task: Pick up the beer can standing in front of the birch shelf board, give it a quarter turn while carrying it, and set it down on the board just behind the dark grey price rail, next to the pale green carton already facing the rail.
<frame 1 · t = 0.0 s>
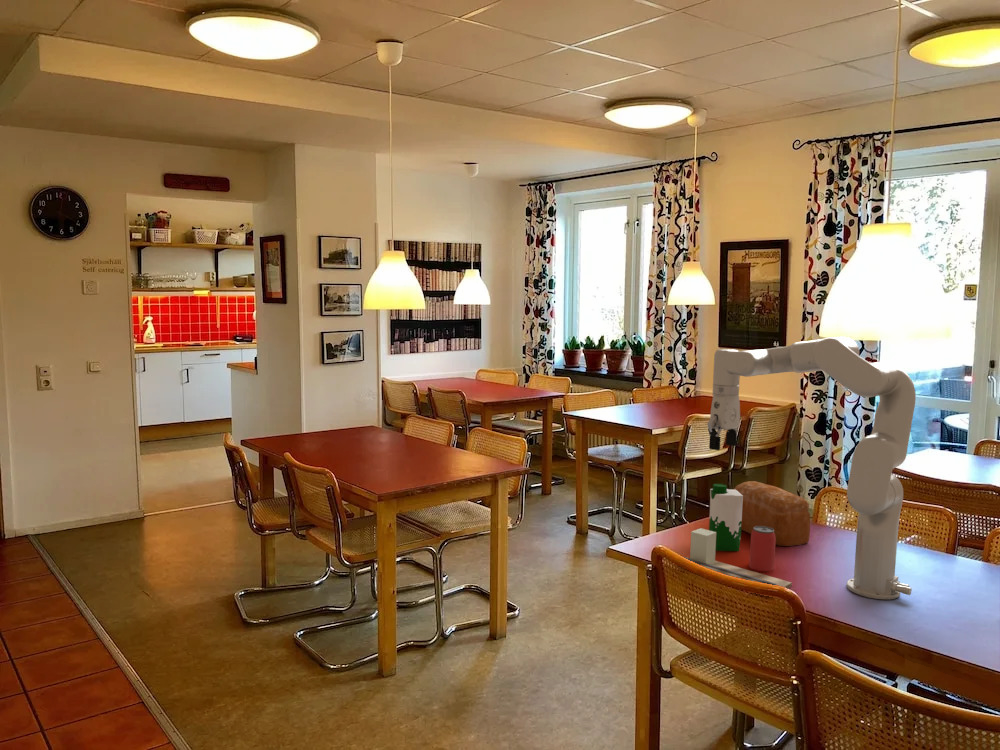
hand: (722, 447, 229), 31 cm above the table, fingers open, 9 cm apart
carton: (702, 562, 216), point 1 cm above the table, touching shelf
milk carton: (723, 550, 230), on the table
bread: (767, 534, 248), on the table
beer can: (761, 571, 213), on the table
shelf: (734, 575, 209), on the table
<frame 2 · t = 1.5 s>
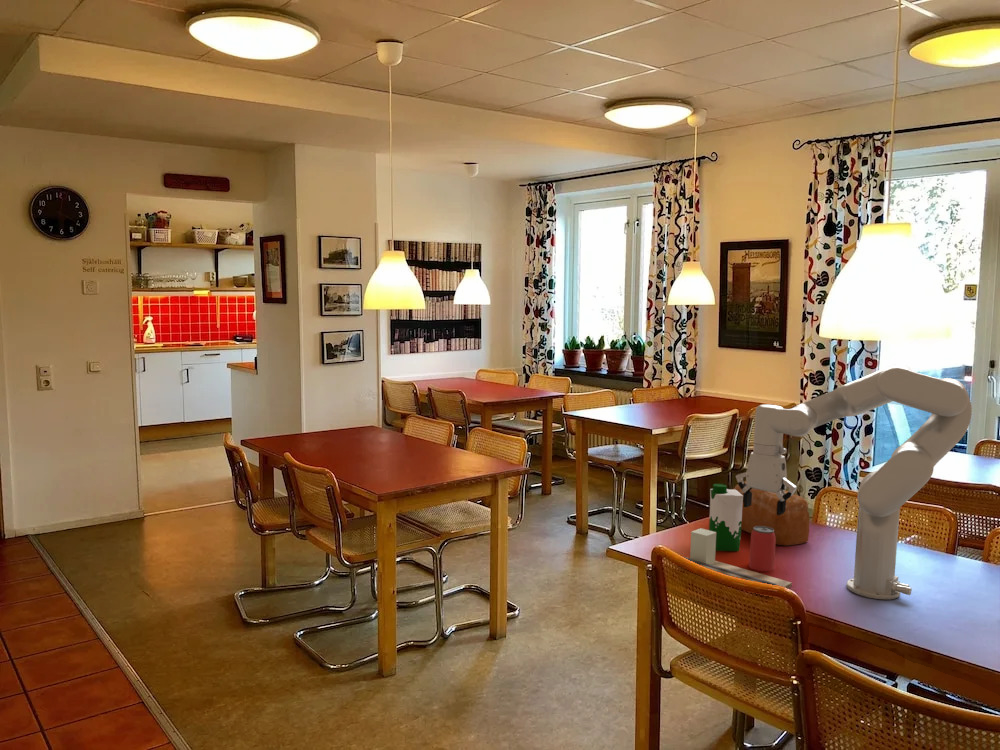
hand: (763, 510, 212), 17 cm above the table, fingers open, 9 cm apart
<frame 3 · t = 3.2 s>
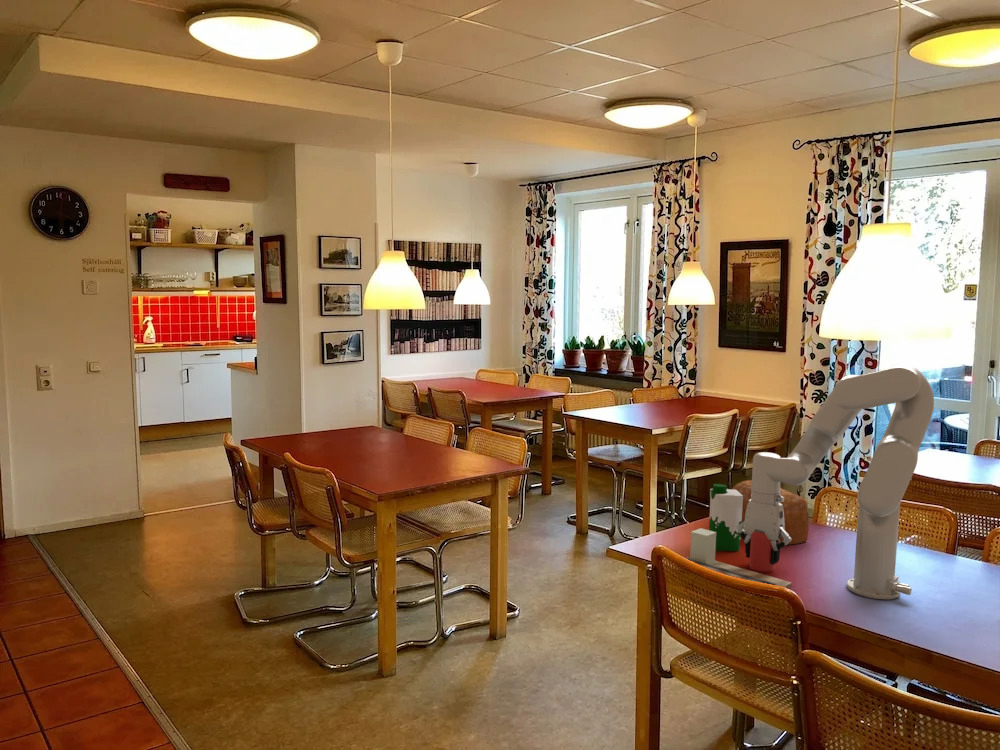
hand: (761, 559, 213), 3 cm above the table, fingers closed on beer can, 6 cm apart
beer can: (761, 571, 213), on the table, touching gripper
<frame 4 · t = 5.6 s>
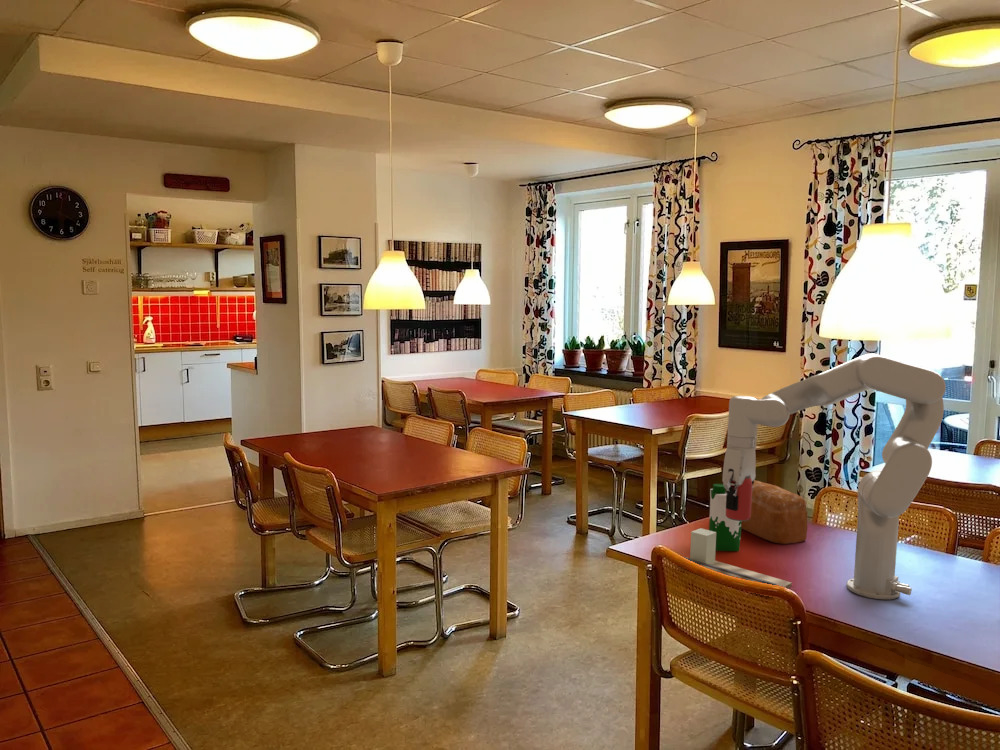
hand: (738, 506, 207), 19 cm above the table, fingers closed on beer can, 6 cm apart
beer can: (737, 518, 207), point 16 cm above the table, touching gripper
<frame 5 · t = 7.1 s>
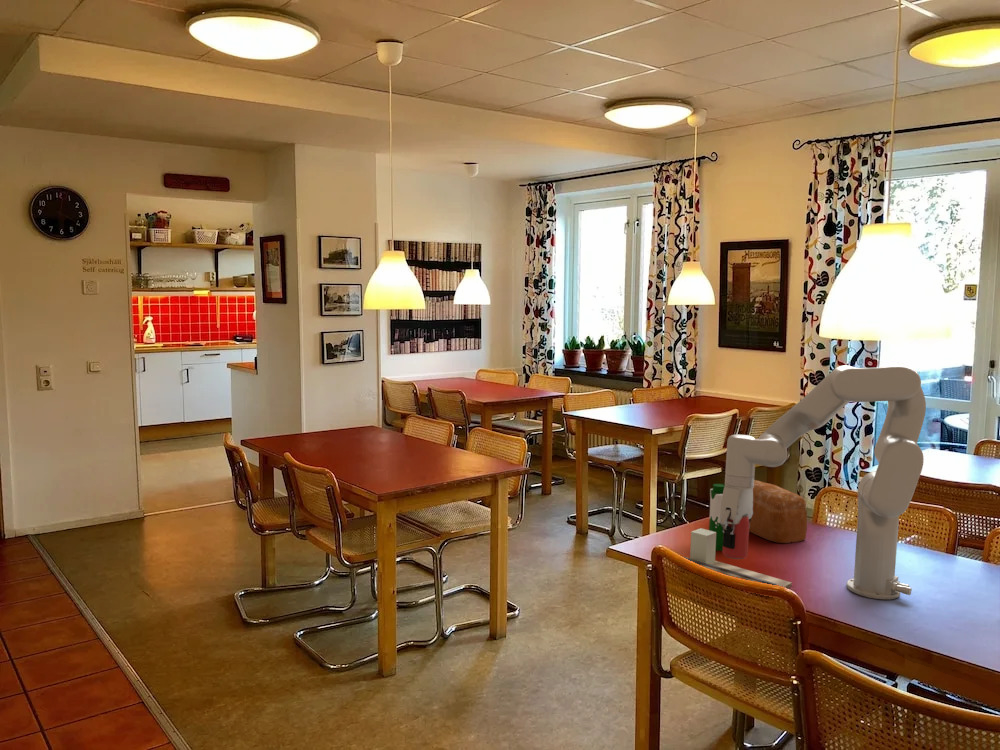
hand: (735, 544, 208), 9 cm above the table, fingers closed on beer can, 6 cm apart
beer can: (734, 556, 208), point 5 cm above the table, touching gripper
when the fingers open (6 cm above the table, at t = 8.2 s): beer can drops 1 cm, resting on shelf.
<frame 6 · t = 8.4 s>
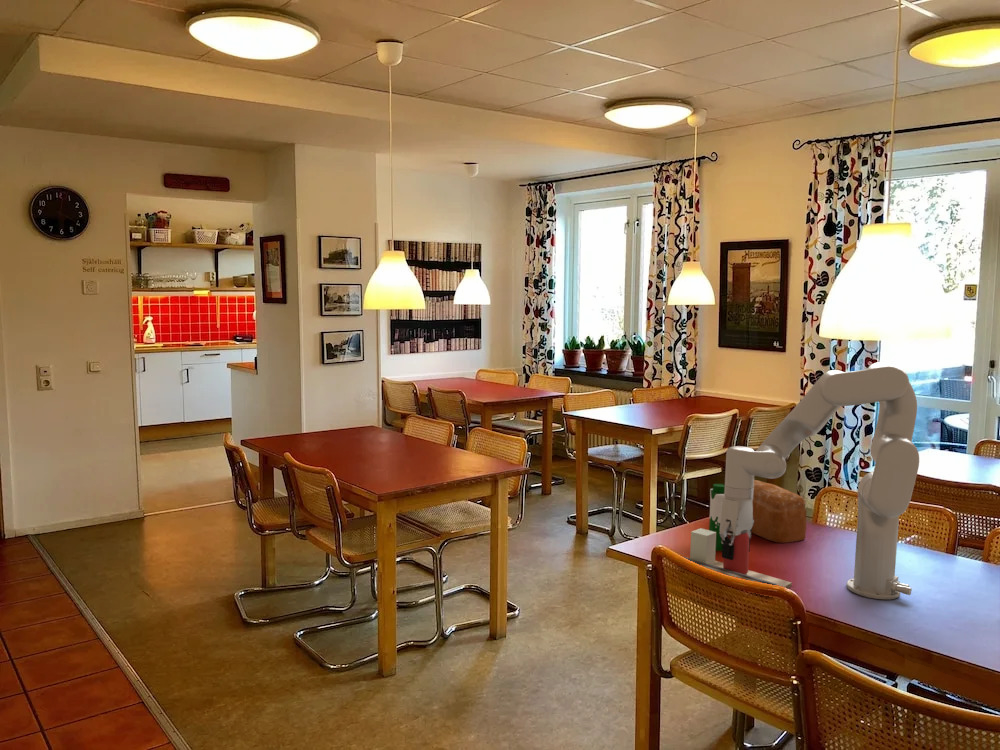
hand: (735, 554, 208), 6 cm above the table, fingers open, 8 cm apart
beer can: (735, 572, 209), point 1 cm above the table, touching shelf
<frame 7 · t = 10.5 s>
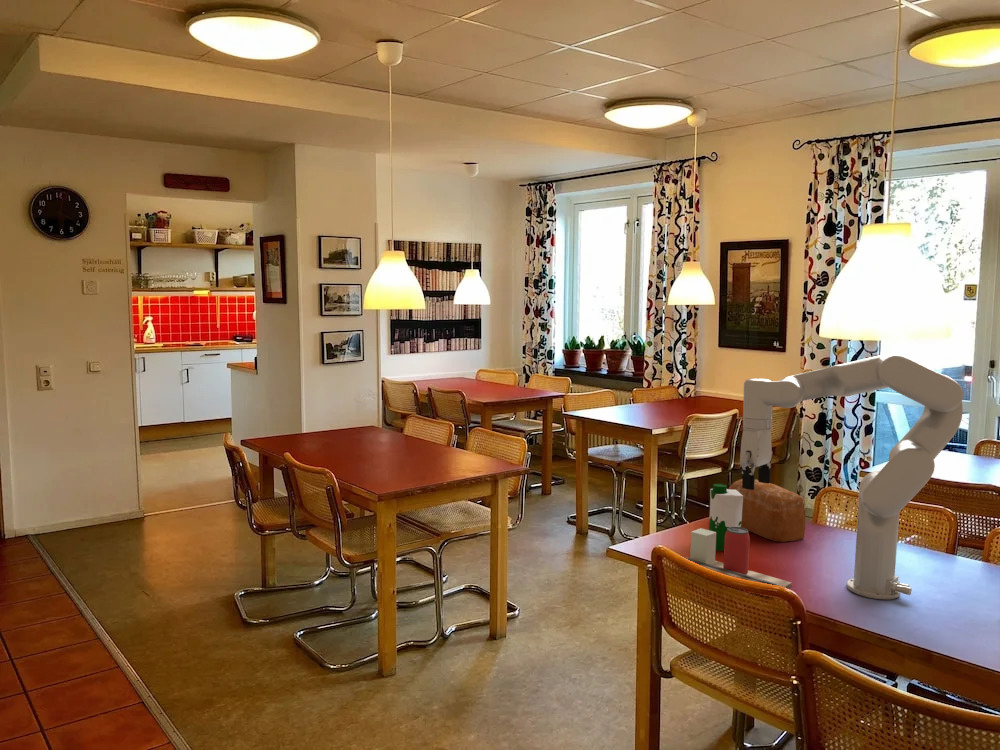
hand: (756, 485, 209), 25 cm above the table, fingers open, 9 cm apart
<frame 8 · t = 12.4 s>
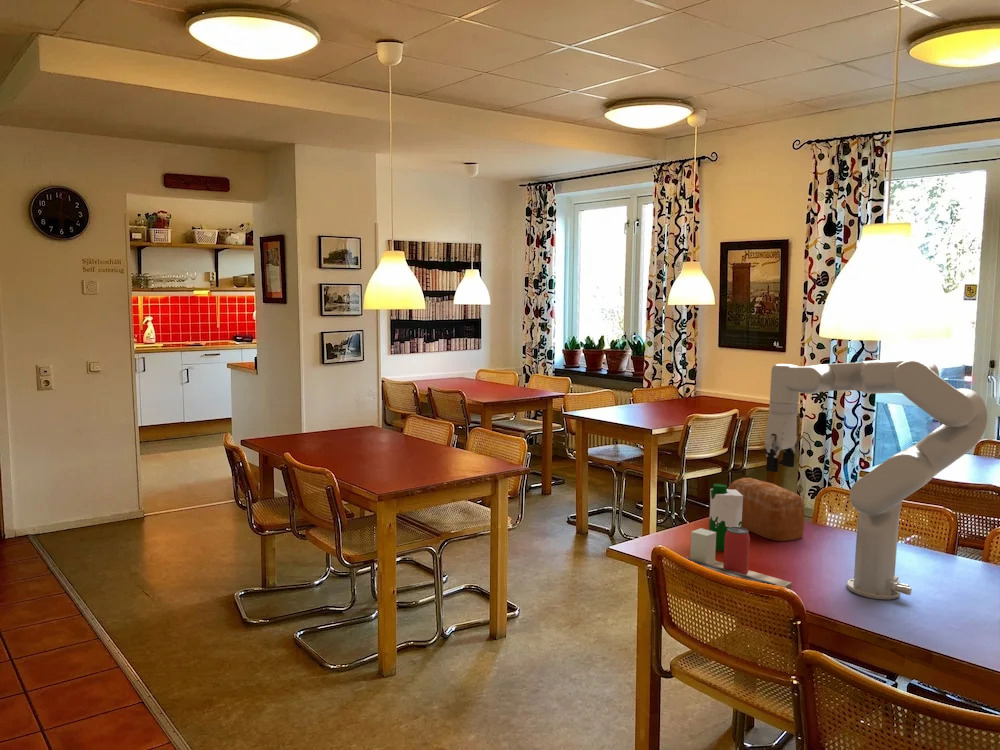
hand: (780, 468, 214), 28 cm above the table, fingers open, 9 cm apart
at the end: beer can inside the target area on the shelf (0.1 cm from its centre), point 0.8 cm above the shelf's base; beer can tilted 0°; the gripper is holding nothing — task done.
